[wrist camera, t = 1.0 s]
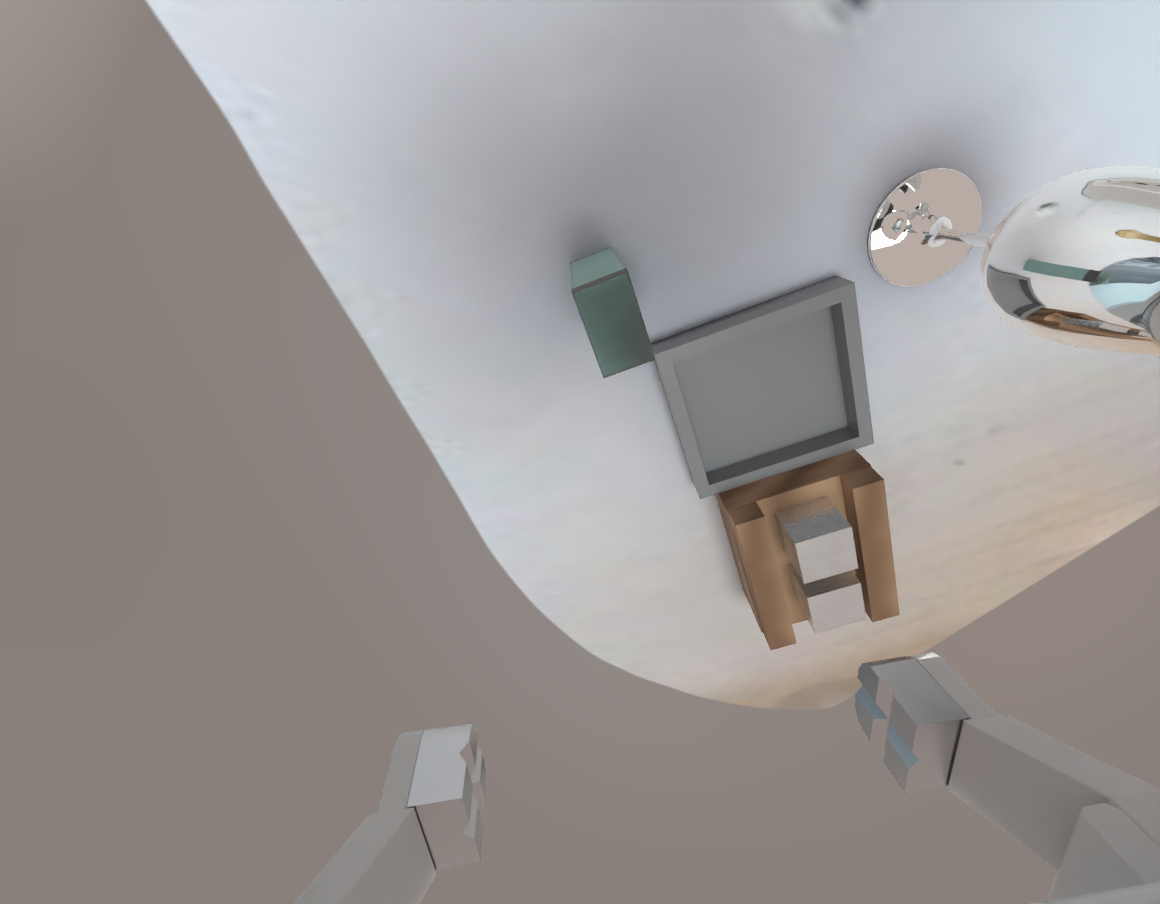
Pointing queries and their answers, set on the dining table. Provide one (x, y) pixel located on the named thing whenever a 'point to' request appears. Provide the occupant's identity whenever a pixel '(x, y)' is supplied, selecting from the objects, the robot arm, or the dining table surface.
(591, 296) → the green grey block
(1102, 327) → the wineglass
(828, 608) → the steel block
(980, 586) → the dining table surface
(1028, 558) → the dining table surface
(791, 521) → the steel block
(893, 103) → the dining table surface
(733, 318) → the tray
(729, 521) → the groove board
